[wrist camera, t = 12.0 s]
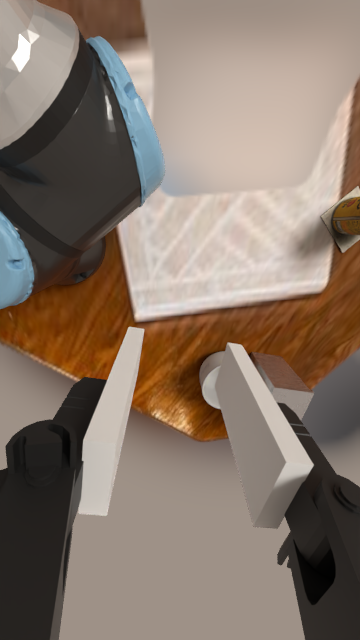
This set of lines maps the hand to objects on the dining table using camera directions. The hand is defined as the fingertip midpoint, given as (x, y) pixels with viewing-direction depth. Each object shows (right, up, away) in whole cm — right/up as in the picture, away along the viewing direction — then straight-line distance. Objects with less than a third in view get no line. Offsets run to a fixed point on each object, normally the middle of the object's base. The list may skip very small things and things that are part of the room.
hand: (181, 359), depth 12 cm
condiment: (+31, +20, +31) cm, 48 cm away
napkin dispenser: (+18, -11, +43) cm, 48 cm away
